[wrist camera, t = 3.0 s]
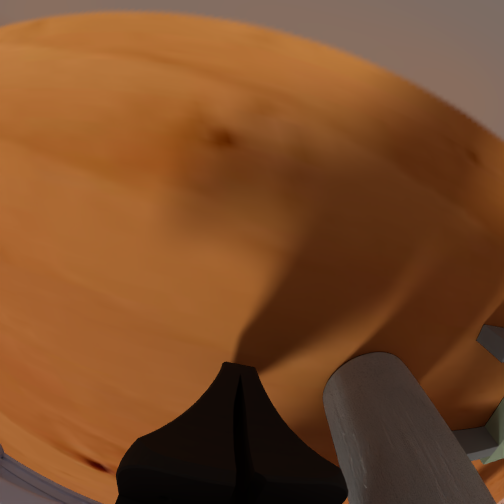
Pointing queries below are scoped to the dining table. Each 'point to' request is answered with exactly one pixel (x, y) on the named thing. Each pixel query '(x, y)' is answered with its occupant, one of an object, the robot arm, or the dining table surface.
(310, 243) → the dining table surface
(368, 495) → the grey hollow tube
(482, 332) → the mount
